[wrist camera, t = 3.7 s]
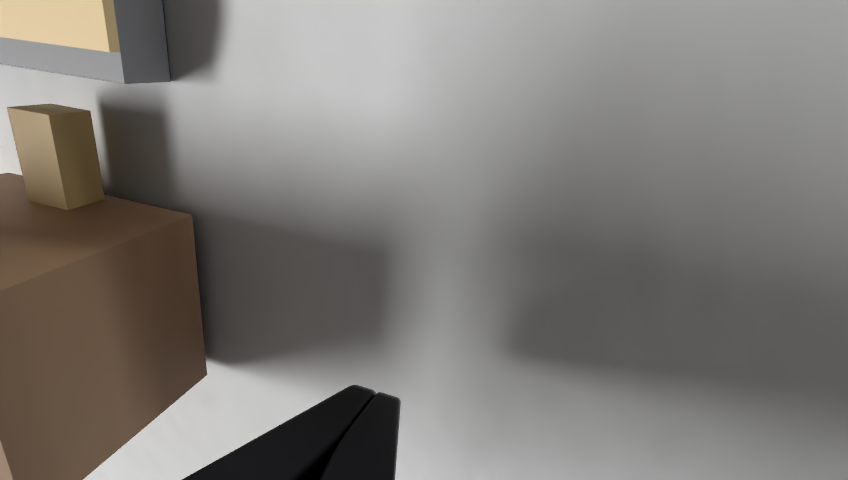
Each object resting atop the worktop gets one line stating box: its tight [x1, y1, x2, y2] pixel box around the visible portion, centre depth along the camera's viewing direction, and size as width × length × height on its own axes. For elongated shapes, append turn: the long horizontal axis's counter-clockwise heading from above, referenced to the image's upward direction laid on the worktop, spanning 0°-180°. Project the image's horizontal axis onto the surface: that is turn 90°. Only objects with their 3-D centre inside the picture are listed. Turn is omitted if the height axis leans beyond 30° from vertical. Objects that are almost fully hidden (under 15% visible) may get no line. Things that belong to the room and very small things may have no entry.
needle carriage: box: [0, 104, 207, 480], centre depth 9 cm, size 5×6×4 cm
